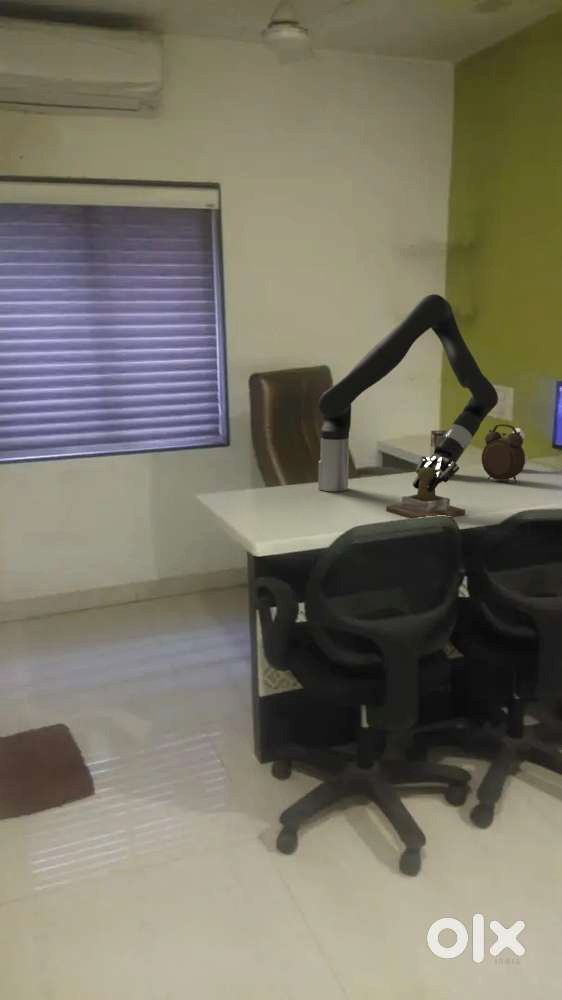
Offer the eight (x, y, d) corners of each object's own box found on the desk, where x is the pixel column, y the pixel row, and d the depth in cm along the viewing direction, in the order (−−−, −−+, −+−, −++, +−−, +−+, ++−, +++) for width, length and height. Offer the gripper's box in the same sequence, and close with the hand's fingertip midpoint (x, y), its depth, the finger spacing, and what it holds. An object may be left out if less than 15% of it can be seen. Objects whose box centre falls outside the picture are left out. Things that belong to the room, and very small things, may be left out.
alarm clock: (526, 483, 264) (530, 425, 259) (514, 486, 259) (518, 427, 255) (490, 477, 275) (494, 421, 270) (478, 479, 270) (481, 423, 266)
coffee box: (428, 473, 281) (430, 430, 278) (446, 473, 281) (448, 430, 278) (433, 478, 272) (435, 433, 269) (451, 478, 272) (453, 433, 269)
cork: (438, 503, 223) (440, 466, 221) (433, 508, 218) (435, 470, 215) (418, 501, 226) (419, 465, 223) (413, 506, 220) (414, 468, 218)
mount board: (424, 522, 211) (425, 506, 210) (386, 511, 224) (386, 496, 223) (465, 514, 220) (465, 499, 219) (425, 504, 233) (426, 489, 232)
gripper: (429, 432, 227) (398, 476, 223) (465, 438, 215) (433, 485, 212) (441, 448, 231) (411, 492, 227) (477, 455, 219) (446, 501, 216)
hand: (421, 488), depth 220 cm, fingers open, 5 cm apart
